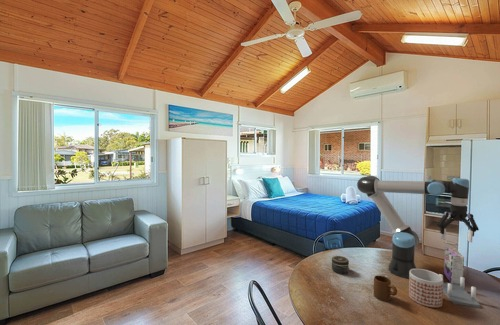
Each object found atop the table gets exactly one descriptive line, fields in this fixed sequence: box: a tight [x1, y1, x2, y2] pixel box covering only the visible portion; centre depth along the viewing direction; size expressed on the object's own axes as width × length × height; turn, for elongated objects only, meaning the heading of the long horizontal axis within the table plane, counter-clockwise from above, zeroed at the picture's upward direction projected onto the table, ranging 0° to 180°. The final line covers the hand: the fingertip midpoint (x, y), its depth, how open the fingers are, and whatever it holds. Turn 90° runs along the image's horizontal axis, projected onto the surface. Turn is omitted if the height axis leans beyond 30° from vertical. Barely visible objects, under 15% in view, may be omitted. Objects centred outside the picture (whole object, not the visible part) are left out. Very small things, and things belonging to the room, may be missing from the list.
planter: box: [408, 268, 444, 309], centre depth 122 cm, size 14×14×13 cm
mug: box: [373, 275, 398, 302], centre depth 121 cm, size 12×8×9 cm, turn 20°
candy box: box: [443, 246, 465, 285], centre depth 142 cm, size 14×6×16 cm, turn 154°
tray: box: [438, 273, 482, 309], centre depth 127 cm, size 12×20×7 cm, turn 163°
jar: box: [331, 255, 350, 275], centre depth 151 cm, size 10×10×8 cm
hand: (456, 240), depth 143 cm, fingers open, 13 cm apart
